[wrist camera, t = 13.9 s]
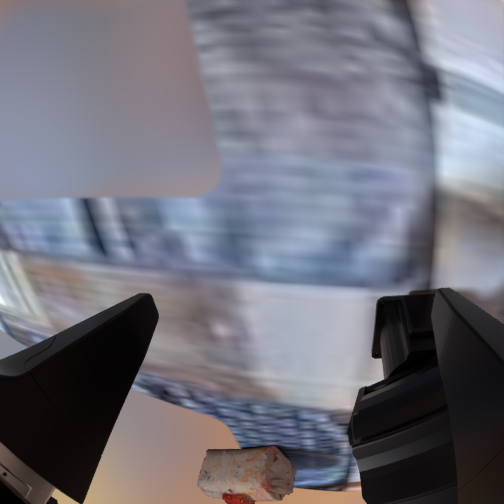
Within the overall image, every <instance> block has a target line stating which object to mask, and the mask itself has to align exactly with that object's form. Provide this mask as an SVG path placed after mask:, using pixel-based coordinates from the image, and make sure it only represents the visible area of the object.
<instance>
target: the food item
mask: <svg viewBox="0 0 504 504" xmlns="http://www.w3.org/2000/svg"><path fill="white" fill-rule="evenodd" d="M206 453H207V454H206V457H205V458H204V461H203V464H202V469H201V470H200V475H199V478H198V483H197V485H198V487H199V488H200V489H201V491H202V492H203V493H204V494H206V495H207V496H209V497H212V498H216V499H223V500H225V502H226V503H227V504H255V503H254V502H256V501H281V500H282V499H283V497H284V496H285V495H286V494H287V495H289V494H290V493H293V486H294V480H295V475H296V470H295V468H294V466H292V465H291V463H290V460H289V459H288V458H286V457H284V455H283V454H282V453H281V451H280V450H279V449H278V448H277V447H275V446H267V447H259V448H252V449H208V450H207V451H206Z"/></svg>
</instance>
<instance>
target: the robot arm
mask: <svg viewBox="0 0 504 504" xmlns="http://www.w3.org/2000/svg"><path fill="white" fill-rule="evenodd" d="M382 303H385V304H384V305H381V304H382ZM158 319H159V314H158V310H157V308H156V305H155V303H154V300H153V297H152V296H151V295H150V294H148V293H139V294H137V295H135V296H133V297H131V298H129V299H127V300H124V301H122V302H120V303H118V304H116V305H114V306H112V307H110V308H108V309H106V310H104V311H102V312H100V313H98V314H96V315H94V316H92V317H90V318H88V319H86V320H84V321H82V322H80V323H78V324H76V325H74V326H72V327H70V328H68V329H66V330H64V331H62V332H60V333H58V335H57V334H56V335H54V336H52V337H50V338H48V339H46V340H44V341H42V342H40V343H38V344H35V345H33V346H31V347H29V348H27V349H24V350H22V351H20V352H17V353H15V354H13V355H11V356H8V357H6V358H4V359H1V360H0V504H58V503H57V500H56V499H54V498H53V497H52V496H51V495H52V493H53V492H54V490H55V488H56V489H58V490H59V491H61V492H62V493H64V494H65V495H67V496H68V497H70V498H71V499H73V500H75V501H76V502H78V503H79V504H83V502H84V500H85V497H86V495H87V492H88V490H89V487H90V484H91V482H92V479H93V477H94V474H95V472H96V469H97V467H98V464H99V461H100V459H101V455H102V454H103V451H104V448H105V446H106V444H107V441H108V439H109V436H110V434H111V432H112V429H113V427H114V424H115V422H116V420H117V418H118V415H119V413H120V411H121V409H122V406H123V404H124V402H125V399H126V397H127V395H128V393H129V391H130V389H131V386H132V384H133V382H134V380H135V378H136V375H137V373H138V371H139V369H140V367H141V365H142V362H143V360H144V358H145V356H146V353H147V350H148V348H149V345H150V342H151V339H152V336H153V334H154V331H155V328H156V325H157V323H158ZM375 353H377V354H375ZM372 357H373V358H375V359H378V358H382V364H383V373H384V380H382V381H380V382H377V383H375V384H373V385H371V386H368V387H367V386H365V387H363V388H360V389H359V392H358V396H357V399H356V403H355V406H354V409H353V413H352V416H351V419H350V422H349V427H348V431H347V435H348V438H349V443H350V447H351V450H352V453H353V455H354V457H355V458H356V460H357V464H358V468H359V472H360V479H361V488H362V497H363V499H364V500H365V502H366V503H367V504H504V324H502V323H501V322H500V321H498V320H497V319H495V318H494V317H493V316H491V315H490V314H488V313H487V312H485V311H484V310H482V309H481V308H479V307H478V306H477V305H475V304H474V303H472V302H471V301H469V300H468V299H466V298H465V297H463V296H461V295H460V294H458V293H457V292H455V291H454V290H452V289H451V288H439V289H437V290H436V293H435V294H433V295H431V294H426V295H412V296H403V297H387V298H380V299H378V301H377V303H376V315H375V325H374V335H373V344H372Z"/></svg>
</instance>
